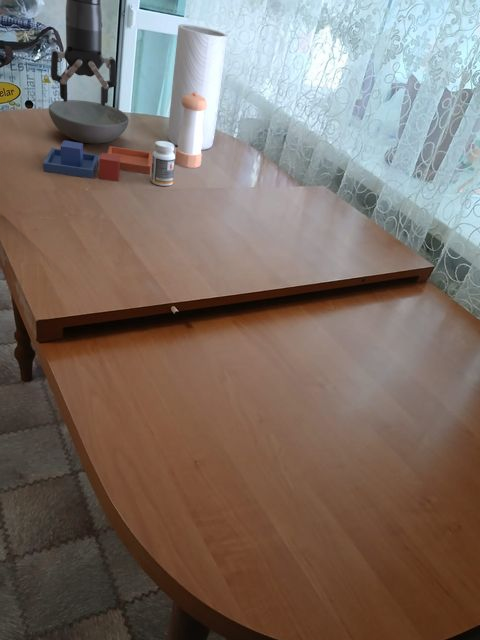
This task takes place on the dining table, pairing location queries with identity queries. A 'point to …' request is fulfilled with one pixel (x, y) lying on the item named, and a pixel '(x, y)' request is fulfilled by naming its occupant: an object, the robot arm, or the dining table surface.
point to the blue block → (72, 153)
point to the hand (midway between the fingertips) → (84, 102)
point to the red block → (109, 167)
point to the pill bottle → (163, 164)
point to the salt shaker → (191, 131)
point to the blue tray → (54, 166)
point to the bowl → (88, 121)
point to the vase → (197, 77)
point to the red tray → (132, 159)
